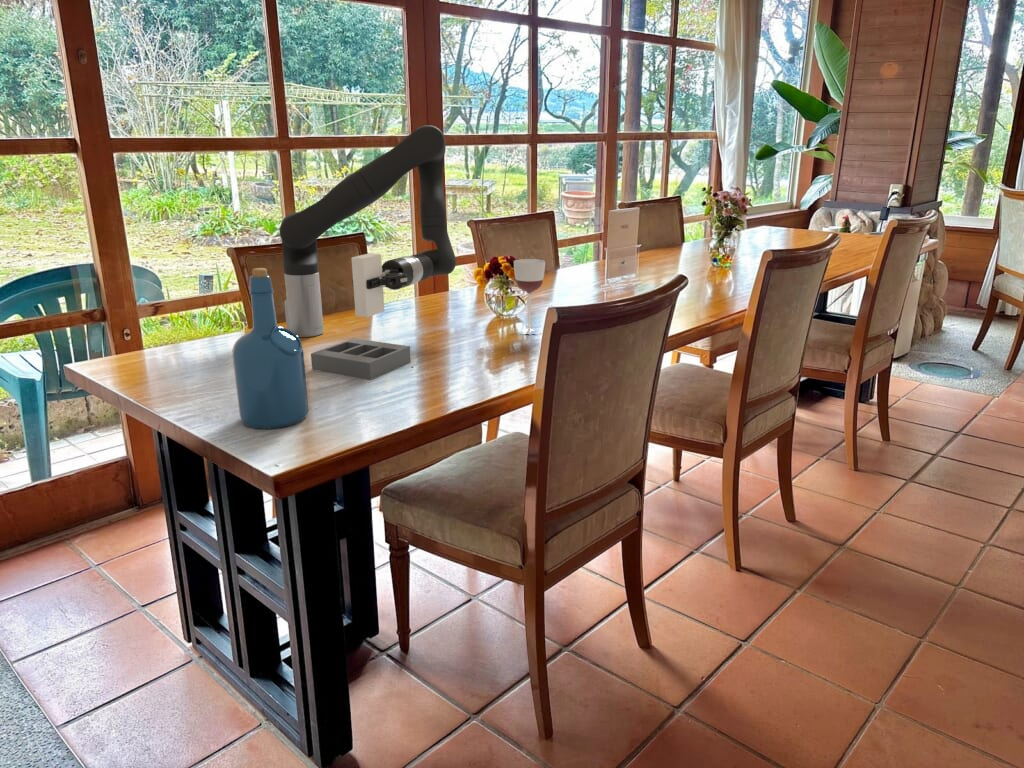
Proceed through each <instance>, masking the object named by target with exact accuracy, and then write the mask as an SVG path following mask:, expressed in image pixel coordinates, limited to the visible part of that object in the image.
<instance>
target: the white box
mask: <svg viewBox="0 0 1024 768" xmlns="http://www.w3.org/2000/svg"><path fill="white" fill-rule="evenodd" d="M382 265H383V264H382V254H381V253H365V254H360V255H356V256H352V257H351V271H352V280H353V282H352V287H353V286H354V287H353V296H354V297H353V299H354V311H355V312H354V313H355V316H356V317H363V318H369V317H372V316H375V315H379V314H380V313H383V312H385V301H384V299H385V297H384V287H381V288H380V287H376V288H373V289H367V286H366V281H367V280H369V279H372V278H377V277H378V276H381V274H382Z"/></svg>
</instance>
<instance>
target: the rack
mask: <svg viewBox="0 0 1024 768" xmlns="http://www.w3.org/2000/svg"><path fill="white" fill-rule="evenodd" d="M310 360H311V370H312V369H313V371H317V370H318V371H319V372H324V373H329V374H336V375H341V376H348V377H353V378H359V379H364V380H370V381H371V380H373V379H376V378H378V377H380V376H383V375H385V374H387V373H389V372H392V371H394V370H395V369H398V368H400V367H403V366H405V365H407V364H410V363H411V361H412V360H411V346H409V345H404V344H403V345H401V344H395V343H390V342H389V343H388V342H383V341H374V340H368V339H361V338H354V337H353V338H351V339H350V338H349V339H347V340H345V341H342V342H338V343H336V344H333V345H331V346H328V347H325V348H322V349H320V350H317V351H313V352H312V353H310Z"/></svg>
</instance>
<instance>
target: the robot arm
mask: <svg viewBox="0 0 1024 768" xmlns="http://www.w3.org/2000/svg"><path fill="white" fill-rule="evenodd" d="M446 147H447V146H446V140H445V136H444V134H443V132H442V131H441V130H440V128H438V127H437V126H434V125H430V124H429V125H427V124H426V125H421V126H419V127H418V128H416V129H414V131H412V132H411V133H410V134H409V135H407V136H406V137H405V138H404V139H403V140H402V141H401V142H399V143H398V144H396V145H395V146H394V147H393V148H392V149H390V150H388V151H387V152H385V153H383V154H382V155H380V156H378V157H376V158H375V159H373V160H371V161H370V162H368V163H366V164H365V165H363V166H362V167H360V168H359V169H357V170H356V171H354V172H352V173H351V174H349V175H348V176H346V177H345V178H343V180H341V181H340V182H338V183H337V184H336V185H335V186H334V187H332V189H330V190H329V191H328V192H327V193H326V194H325V195H324V196H323V197H322V198H321V199H319V200H318V201H317V202H315V203H313V204H311V205H309V206H307V207H306V208H304V209H302V210H300V211H295V212H291V213H289V214H287V215H285V217H283V219H282V220H281V224H280V225H279V237H280V239H281V246H282V259H283V260H282V261H283V262H282V263H283V275H284V282H285V283H284V285H285V286H284V287H285V293H286V299H284V301H283V302H284V315H285V325H286V329H288V330H290V331H291V332H293V333H295V334H296V335H297V336H298V337H299V338H308V337H309V338H310V337H316V336H319V335H322V334H323V333H324V332H325V331H324V320H323V308H322V307H323V305H322V295H321V283H320V271H319V269H320V268H319V256H318V243H317V239H318V238H320V237H321V236H322V235H324V234H325V233H326V232H327V231H328V230H330V229H331V228H332V227H334V226H336V225H337V224H338V223H340V222H342V221H344V220H346V219H348V218H350V217H351V216H353V215H355V214H357V213H360V212H361V211H362V210H364V209H366V208H367V207H368V206H370V205H372V204H373V203H375V202H376V201H378V200H379V199H381V198H382V197H383V196H385V195H386V194H387V193H388V192H389V191H390V190H391V189H392V188H393V187H394V186H395V185H396V183H398V181H400V179H402V177H404V176H405V175H406V174H408V173H409V172H410V171H412V170H414V169H416V168H417V171H418V174H419V175H418V176H419V184H420V198H419V199H420V200H419V202H420V203H419V206H420V207H419V210H420V212H419V213H420V215H419V217H420V226H421V227H420V228H421V237H422V238H423V240H424V241H426V242H433V243H434V244H435V246H436V249H435V248H434V249H429V250H424V251H420V252H417V253H416V254H413V255H408V256H407V255H405V256H401V257H396V258H392V259H389V260H386V261H384V262H383V264H382V274H381V276H378V277H377V278H372V279H369V280H367V281H366V286H367V289H373V288H376V287H380V288H381V287H383V288H387V289H389V290H393V291H394V290H395V291H397V290H400V289H403V288H407V287H409V286H412V285H415V284H416V283H419V282H423V281H426V280H427V279H429V278H430V277H436V276H443V275H450V274H451V273H453V272H454V270H455V268H456V265H457V264H456V263H457V259H456V255H455V251H454V249H453V246H452V242H451V240H450V236H449V233H448V222H447V221H448V220H447V209H446V201H445V193H444V183H443V182H444V180H443V179H444V177H443V176H444V175H443V171H444V162H445V154H446ZM352 283H353V279H352ZM352 287H353V288H354V286H353V285H352Z"/></svg>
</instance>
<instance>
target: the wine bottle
mask: <svg viewBox="0 0 1024 768" xmlns="http://www.w3.org/2000/svg"><path fill="white" fill-rule="evenodd" d="M274 293H275V290H274V288H273V282H272V279H271V275H269V274H268V270H267V268H264V267H256V268H253V269H251V275H250V276H249V295H250V298H251V299H250V300H251V310H252V311H251V313H252V314H251V315H252V328H251V329H250V331H249V332H247V333H245V334H244V335H241V337H239V338H238V339H237V340H236V341H235V343H234V344H233V347H232V349H231V353H232V363H233V371H234V379H235V386H236V396H237V405H238V411H239V416H240V417H239V418H240V421H241V422H242V424H243V425H244V426H247V427H250V428H253V429H269V430H270V429H271V430H272V429H278V428H285V427H290V426H292V425H295V424H297V423H299V422H302V421H303V420H304V419H305V418H306V417H307V416H308V413H309V409H310V408H309V401H308V389H307V380H306V379H307V377H306V367H305V366H306V365H305V356H304V354H305V353H304V348H303V344H302V340H301V339H300V338H301V337H298V336H297V335H296V334H295V333H293V332H291V331H290V330H288V329H287V327H283V326H278V322H277V316H276V315H277V314H276V309H275V307H276V306H275V300H274Z"/></svg>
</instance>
